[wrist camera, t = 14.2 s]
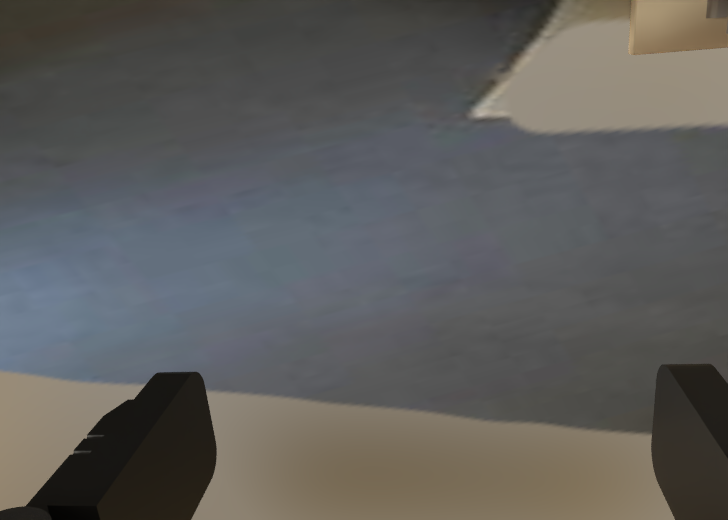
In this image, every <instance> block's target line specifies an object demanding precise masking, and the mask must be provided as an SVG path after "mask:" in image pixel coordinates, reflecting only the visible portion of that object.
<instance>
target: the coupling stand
mask: <svg viewBox="0 0 728 520" xmlns="http://www.w3.org/2000/svg"><path fill="white" fill-rule="evenodd" d="M725 47H728V0H631V14H630V35H629V52H628V53H629V54H632V55H640V54H651V53H664V52H676V51H689V50H700V49H713V48H725Z"/></svg>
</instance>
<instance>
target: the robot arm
mask: <svg viewBox="0 0 728 520" xmlns="http://www.w3.org/2000/svg"><path fill="white" fill-rule="evenodd" d="M651 445H652V446H651V447H652V448H651V450H652V461H653V467H654V472H655V475H656V478H657V481H658V484H659V486H660V488H661V490H662V492H663V495H664V497H665V499H666V501H667V503H668V505H669V507H670V509H671V511H672V514H673V516H674V518H675V520H728V384H727V382H726V381H725V380H724V379H723V377H722V376H721V375H720V374H719V372H718V371H717V370H716V368H715V367H714V366H713V365H711V364H669V365H661V366H660V368H659V370H658V373H657V379H656V391H655V404H654V417H653V430H652V444H651ZM215 465H216V441H215V436H214V431H213V426H212V421H211V415H210V410H209V405H208V400H207V395H206V389H205V385H204V381H203V378H202V376H201V375H200V374H199V373H198V372H163V373H156V374H155V375H154V376H153V377H152V378H151V379H150V380H149V382H148V383H147V384H146V385H145V387H144V388H143V389H142V390H141V392H140V393H139V394H138V395H137V396H136V398H135V399H134V400H127V401H125V402H124V403H122V404H121V405H119V406H118V407H116V408H115V409H113V410H112V411H110V412H109V413H107V414H106V415H104V416H103V417H102V419H100V421H99V422H98V423H97V424H96V425H95V426H94V428H93V429H92V430H91V431H90V432H89V433H88V435H87V439H83V440H82V441H81V443H80V444H79V445H78V446H77V447H76V448H75V450H74V454H73V455H69V457H68V458H67V459H66V460H65V461H64V462H63V464H62V465H61V466H60V467H59V468H58V469H57V470H56V472H55V473H54V474H53V475H52V476H51V477H50V478H49V480H48V481H47V482H46V483H45V484H44V486H43V487H42V488H41V489H40V490H39V491H38V492H37V494H36V495H35V496H34V497H33V498H32V499H31V501H30V502H29V503H28V504H27V505H26V506H25V507H16V508H11V509H6V510H3V511H0V520H191V519H192V517H193V515H194V512H195V511H196V509H197V507H198V505H199V503H200V500H201V499H202V497H203V495H204V493H205V491H206V489H207V487H208V485H209V483H210V481H211V479H212V477H213V474H214V470H215Z"/></svg>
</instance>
